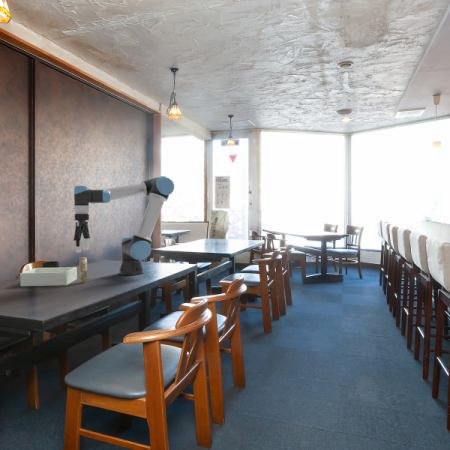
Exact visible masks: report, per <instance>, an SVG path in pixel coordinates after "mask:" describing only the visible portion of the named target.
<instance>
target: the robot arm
mask: <svg viewBox="0 0 450 450" xmlns="http://www.w3.org/2000/svg"><path fill="white" fill-rule="evenodd" d="M73 190H74V191H73V198H74V200H73V202H74V207H73V210H74V213H75V214H74V221H77V222H75V230H74V236H73V241H74V242H75V253H82V251H89V239H90V238H91V236H90V230H89V225H88V224H89V223H88V221H90V214H89V213H90V209H89V208H90V206H89V205H90V204H93V205H94V204H109V203H110V202H111V201H115V200H120V199H127V198H133V197H140V196H143V197H146V196H150V198H149V201H148V203H147V206H146V209H145V211H144V214H143V216H142V219H141V221H140V224H139V228H138V230H137V232H136V233H135V234H133V235H132V237H131V236H129V237H122V239H121V243H120V244H121V263H120V267H119V271H118V274H119V275H121V276H135V275H142V274H144V267H143V263H142V262H141V261H142V260H145V259H147V258H148V257H149V256H150V255H151V252H152V247H151V244H152V242H153V240H152V235H153V232H154V229H155V226H156V225H157V224H156V223H157V221H158V219H159V216H160V213H161V210H162V208H163V205H164V203H165V202H167V201H168V198H169V196H170V195H171V194H172V193H173V192H174V190H175V183H174V181H173V179H172V178H171V177H169V176H166V175H162V176H158V177H153V178H151V179H148V180H144V181H141V182H140V183H136V184H135V183H133V184H128V185H122V186H114V187H109V188H103V189H90V187H89V186H88V185H75V186H74V189H73ZM82 237H83V239H82ZM81 239H82V240H81ZM82 243H83V244H82ZM82 245H83V246H82ZM82 248H83V249H82Z"/></svg>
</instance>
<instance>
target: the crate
mask: <svg viewBox="0 0 450 450" xmlns="http://www.w3.org/2000/svg"><path fill="white" fill-rule="evenodd" d="M19 274H20V276H19V280H20V287H41V286H42V287H43V286H45V287H47V286H49V287H50V286H68V285H70V284H71V283H72V282H74V281H76V280H77V279H78V266H73V267H60V268H42V267H34V268H31V269H28V270H25V271H23V272H20V273H19Z"/></svg>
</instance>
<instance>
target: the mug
mask: <svg viewBox="0 0 450 450" xmlns="http://www.w3.org/2000/svg"><path fill="white" fill-rule="evenodd" d="M41 268H61V266H60V262H59V261H54V260H53V261H52V260H51V261H44V262H41Z"/></svg>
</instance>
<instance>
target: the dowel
mask: <svg viewBox="0 0 450 450" xmlns="http://www.w3.org/2000/svg"><path fill="white" fill-rule="evenodd" d="M78 265H79V266H78V267H79V268H78V269H79V270H78V272H79V273H78V274H79V284H86V283H88V259H87V257H85V256H83V257H79V258H78Z"/></svg>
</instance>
